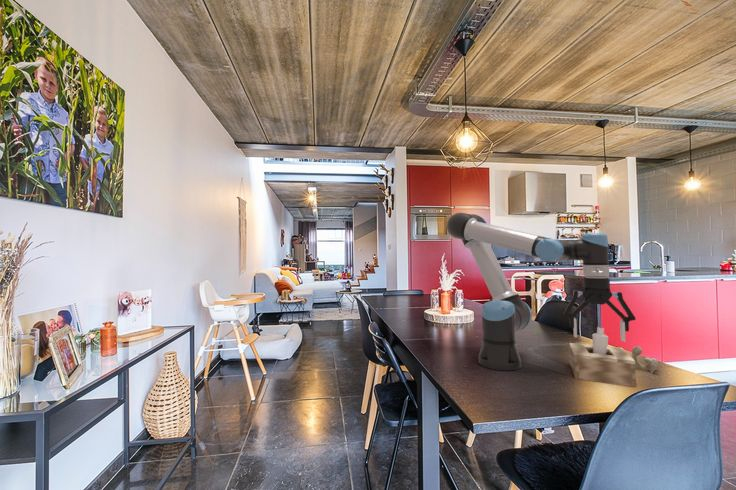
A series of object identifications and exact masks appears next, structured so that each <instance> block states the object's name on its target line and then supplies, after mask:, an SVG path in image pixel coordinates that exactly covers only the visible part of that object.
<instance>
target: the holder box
mask: <svg viewBox="0 0 736 490" xmlns="http://www.w3.org/2000/svg"><path fill="white" fill-rule="evenodd" d="M568 344H569V345H568V346H569V364H570V367H571V371H572V373H573V377H574V378H575V379H577V380H582V381H583V380H584V381H590V382H598V383H604V384H611V385H612V384H613V385H619V386H626V387H635V388H637V374H636V370H637V369H636V368H635V360H634V359H633V358H632V356H631V355H630V353H628V352H627V351H626V350H625V349H624V348H623V347H617V346H608V345H607V353H606V355H604V354H594V353H593V344H587V343H586V344H585V343H576V342H575V343H573V342H569V343H568Z"/></svg>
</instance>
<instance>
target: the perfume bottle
mask: <svg viewBox="0 0 736 490" xmlns="http://www.w3.org/2000/svg"><path fill="white" fill-rule="evenodd" d="M591 335H592V345H593V353H594V354H604V355H606V353H607V346H608V343H609V336H608V335H606V334H605V328H604V327H601V326H600V327H599V326H597V327H596V333H595V332H594V333H592V334H591Z"/></svg>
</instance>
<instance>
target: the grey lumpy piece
mask: <svg viewBox="0 0 736 490" xmlns="http://www.w3.org/2000/svg"><path fill="white" fill-rule="evenodd" d="M642 352H643V349H642V347H641V346H638V345H637V346H633V347H632V349H631V355H632V356H631V357H632V358H633V359H634V360H635V368H636V370H637V369H638V370H644V371H647V372H650V373H651V374H654V371H656V370H658V368H659V365H660V364H659V362H658V360H657V359H656V358H654V357H653V358H650V357H647V356H646V357H645V358H644V362H645V363H646V364H647V365H643V364H641V362H639V361H638V359H637V358H638V356H640V355H641V354H642Z"/></svg>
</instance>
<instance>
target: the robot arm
mask: <svg viewBox="0 0 736 490" xmlns="http://www.w3.org/2000/svg"><path fill="white" fill-rule="evenodd" d="M446 230H447V233H448V234H449V235H450V236H451V237H453V238H454V239H458V240H461V242H462V244H463V246H464V248H467V249H469V250H470V252H471V255H472V257H473V259H474V261H475V263H476V265H477V267H478V269H479V272H480V274H481V276H482V278H483V280H484V282H485V285H486V287H487V289H488V291H489V294H490V295H491V297H492V300H489V301H487V302H484V304H483V305H482V308H481V325H482V344H481V348H480V351H479V354H478V363H479V365H480V366H482V367H484V368H488V369H491V370H497V371H506V372H507V371H517V370H519V369H521V368H522V360H521V359H522V358H521V357H520V354H519V351H518V348H517V345H516V343H517V342H516V332H517V331H521V330H523V329H526V327H527V326H529V324H530V323H531V321H532V319H533V313H532V309H531V307H530V306H529V305H528V304H527V302H525V301H523V300H522V298H521V297H520V294H519V293H518V292H515V291H513V288H512V287H511V285H510V283H509V281H508V279H507V277H506V274H505V272H504V271H503V268H502V266H501V264H500V262H499V261H498V259H497V256H496V255H495V252H494V250H493V248H492V246H496V247H500V248H503V249H507V250H510V251H512V252H513V251H514V252H517V253H520V254H521V253H522V254H525V255H529V256H533V257H535V258H539V260H542V261H545V262H557V261H582V276H584V278H583V279H582V280H583V281H582V282H583V290H582V291H579V290H576V289H574V290H573V292H572V297H571V299H570V301H569V302H568V304H567V306H566V308H564V311H563V316H565V317H567V318H568V319H569V327H570V328H572V329H573V337H574V338H578V327H577V326H578V325H577V318H576V316H577V315H578V314H579V313H580V312H581V311H582V310H584V309H585V307H587V306H588V305H589V304H592V305H605V304H606V305H607V306H608V307H609V308H610V309H611V310H612V311H614V313H615V314H616V315H617V316H618V317H619V318H620V319H621V320H619V327H620V329H619V330H620V332H619V333H620V340H621V341H622V342H624V343H626V332H629V330H630V324H629V323H630V322H631V321H636V320H637V319H636V317H635V315H634V314H633V312H632V311H631V309H630V307H629V305H628V303H626V301H625V300H624V297H623V293H622V292H621V291H615V292H614V291H613V292H612V291H611V281H610V278H608V277H610V266H609V265H610V260H609V258H610V257H609V255H610V254H609V241H608V235H607V233H605V232H590V233H582V234H581V238H580V239H564V240H563V239H553V238H550V237H547V236H540V235H538V234H537V235H536V234H532V233H528V232H524V231H520V230H515V229H513V228H509V227H508V228H506V227H503V226H499V225H494V224H490V223H488V222H487V221H486V219H485V218H484V217H483V216H481V215H478V214H473V213H471V214H470V213H466V212H456V213H454V214H452V215H451V216H450V217H449V218H448V219H447V223H446ZM491 245H492V246H491ZM581 296H583V297H584V299H583V300H582V302H580V303H579V305H577V307H576V308H575V309H573V307H574V306H575V303H576V301H577V300H578V298H579V297H581ZM612 296H613V297H614V299H617V301H618V303H619V304H620V306H621V307H622V309H623V311H624V313H625V314H626V315H625V314H624V313H623V312H622V311H620V309H619V308H617V307H616V306H615V304H613V303H612V301H611V300H610V299H611V298H612ZM572 309H573V311H571V310H572Z"/></svg>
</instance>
